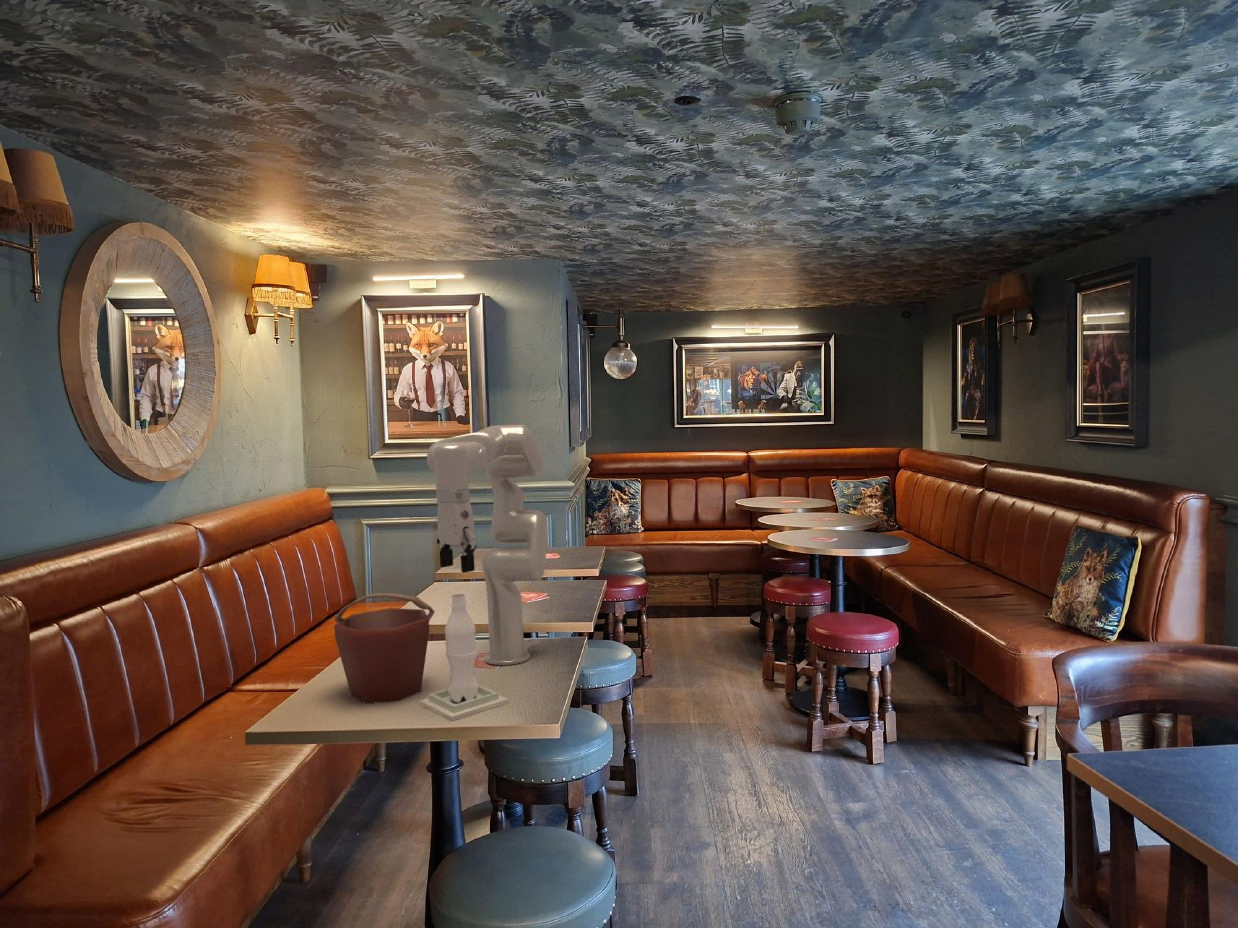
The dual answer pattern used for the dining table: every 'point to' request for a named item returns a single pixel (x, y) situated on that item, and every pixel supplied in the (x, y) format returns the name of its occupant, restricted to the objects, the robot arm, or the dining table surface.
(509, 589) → the robot arm
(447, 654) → the water bottle
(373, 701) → the bucket
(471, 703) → the plate
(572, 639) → the dining table surface
